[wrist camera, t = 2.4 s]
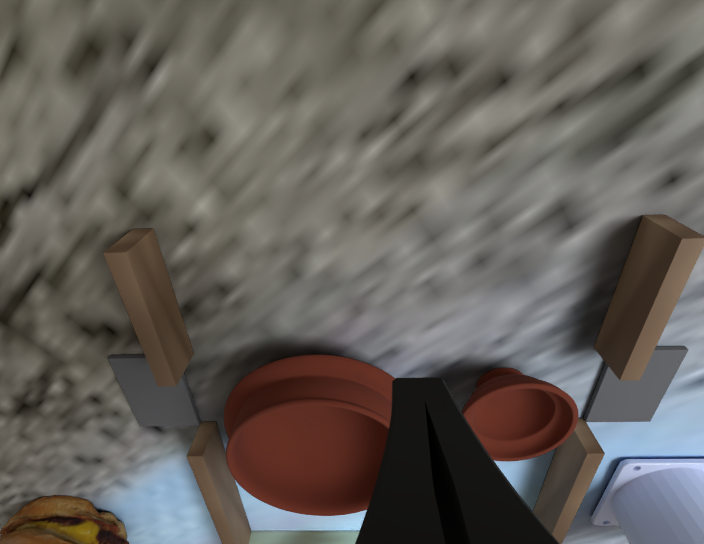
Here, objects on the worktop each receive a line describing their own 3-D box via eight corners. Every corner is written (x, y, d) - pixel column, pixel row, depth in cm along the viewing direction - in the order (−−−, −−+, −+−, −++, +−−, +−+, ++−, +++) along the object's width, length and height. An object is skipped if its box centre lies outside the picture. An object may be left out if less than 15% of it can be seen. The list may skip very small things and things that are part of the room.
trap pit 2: (684, 346, 22) (688, 349, 21) (646, 417, 25) (649, 421, 24) (611, 347, 22) (615, 350, 21) (583, 418, 25) (585, 422, 25)
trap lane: (665, 214, 18) (717, 243, 15) (535, 537, 32) (550, 579, 30) (132, 228, 19) (96, 258, 16) (241, 537, 33) (231, 578, 31)
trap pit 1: (177, 354, 23) (175, 357, 22) (201, 421, 26) (199, 425, 25) (110, 355, 23) (107, 358, 22) (142, 422, 26) (140, 426, 25)
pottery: (206, 343, 22) (175, 404, 19) (564, 299, 20) (611, 357, 17) (263, 464, 28) (248, 529, 24) (545, 439, 26) (577, 505, 22)
